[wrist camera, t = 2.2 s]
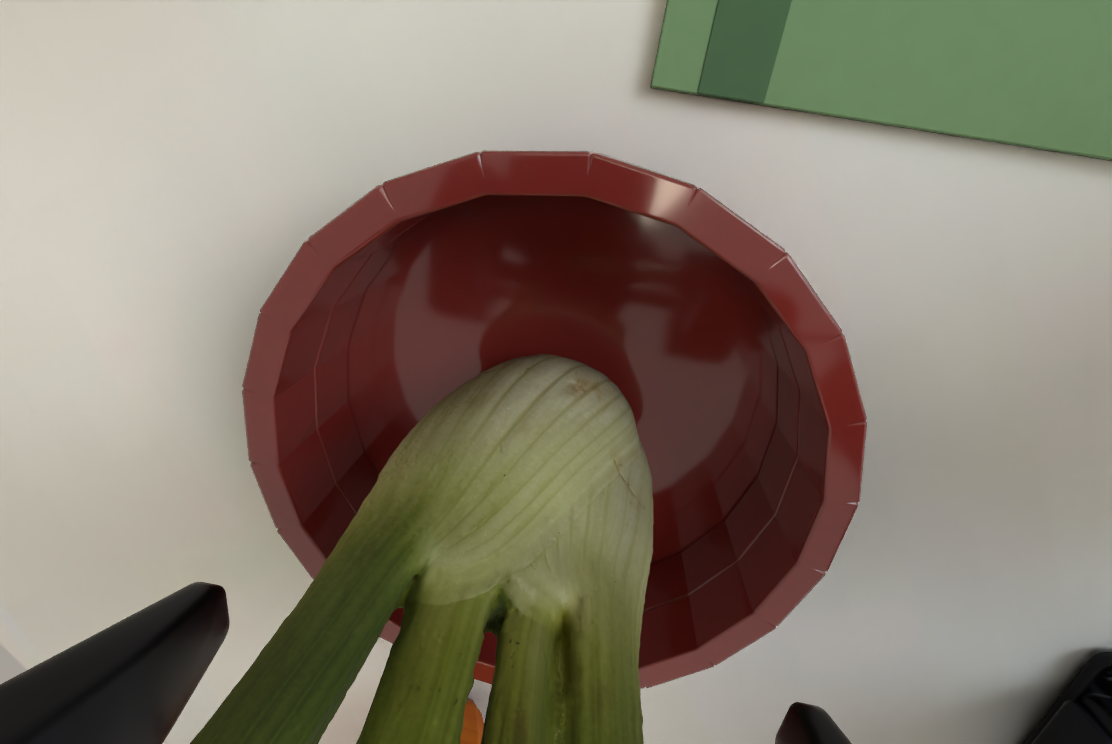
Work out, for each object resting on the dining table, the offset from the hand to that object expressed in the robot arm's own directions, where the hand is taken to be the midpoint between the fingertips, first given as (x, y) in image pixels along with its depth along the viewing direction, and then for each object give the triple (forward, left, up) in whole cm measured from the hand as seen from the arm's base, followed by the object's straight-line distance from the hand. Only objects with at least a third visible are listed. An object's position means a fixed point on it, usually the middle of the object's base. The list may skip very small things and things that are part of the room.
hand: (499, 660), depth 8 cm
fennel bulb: (0, 0, -9) cm, 9 cm away
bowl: (0, 0, -9) cm, 9 cm away
